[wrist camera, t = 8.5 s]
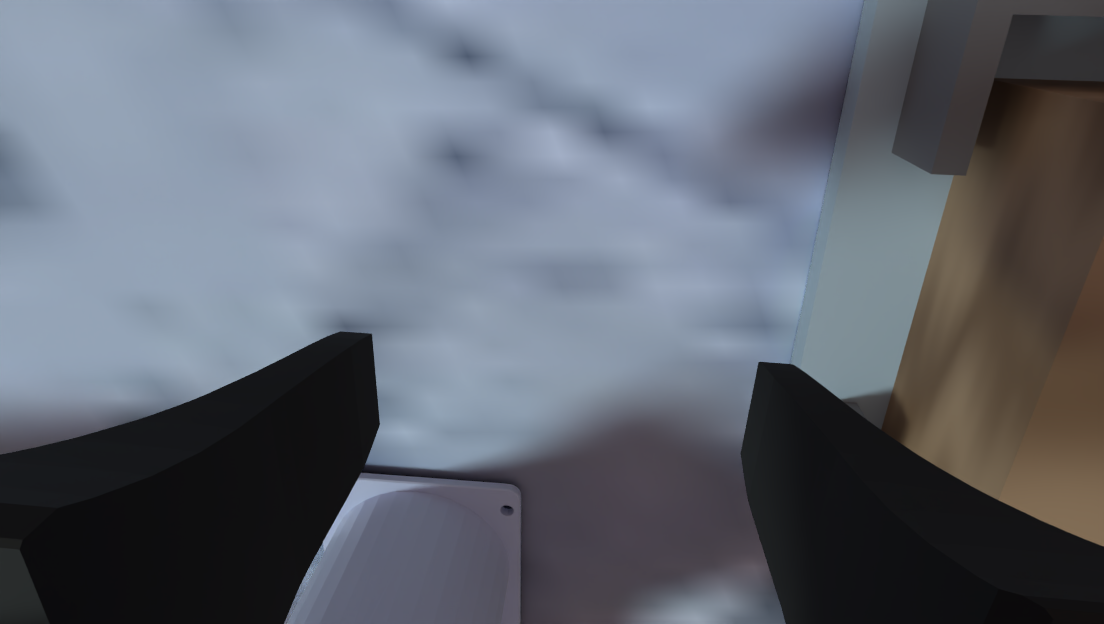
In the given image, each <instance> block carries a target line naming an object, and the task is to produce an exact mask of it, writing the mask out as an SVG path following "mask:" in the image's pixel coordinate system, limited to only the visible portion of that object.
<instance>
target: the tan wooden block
mask: <svg viewBox="0 0 1104 624" xmlns="http://www.w3.org/2000/svg"><path fill="white" fill-rule="evenodd" d="M881 430H882V431H883V432H885V433H886V434H888V435H889V436H891V437H892V438H894V439H895V440H897V441H898V442H900V443H901V444H902V445H904V446H905V447H907V448H908V449H910V450H911V451H913V452H914V453H916V454H917V455H919V456H921V457H922V458H924V459H925V460H927V461H929V462H930V463H932V464H934V465H935V466H937V467H939V468H940V469H942V470H944V471H946V472H947V473H949V474H951V475H953V476H954V477H956V478H958V479H960V480H961V481H963V482H965V483H967V484H968V485H970V486H972V487H974V488H976V489H978V490H980V491H982V492H983V493H985V494H987V495H989V496H991V497H993V498H995V499H997V500H999V501H1001V502H1003V503H1005V504H1007V505H1010V506H1012V507H1014V508H1016V509H1018V510H1020V511H1022V512H1024V513H1026V514H1028V515H1031V516H1033V517H1035V518H1037V519H1039V520H1041V521H1043V522H1046V523H1048V524H1050V525H1053V526H1055V527H1057V528H1059V529H1062V530H1064V531H1066V532H1069V533H1071V534H1073V535H1076V536H1078V537H1081V538H1083V539H1086V540H1088V541H1091V542H1093V543H1096V544H1098V545H1101V546H1104V82H1102V81H1071V80H1041V79H1010V78H994V81H993V85H992V88H991V92H990V95H989V98H988V102H987V105H986V109H985V112H984V115H983V119H982V122H981V126H980V129H979V133H978V136H977V139H976V143H975V146H974V150H973V153H972V156H971V160H970V163H969V167H968V170H967V173H966V176H960V175H954V176H953V180H952V183H951V187H950V190H949V194H948V197H947V201H946V204H945V208H944V211H943V215H942V218H941V222H940V225H939V229H938V232H937V236H936V239H935V243H934V246H933V250H932V253H931V257H930V260H929V264H928V267H927V271H926V274H925V278H924V281H923V285H922V288H921V292H920V295H919V299H918V302H917V306H916V309H915V313H914V316H913V320H912V323H911V327H910V330H909V334H908V337H907V341H906V344H905V348H904V351H903V355H902V358H901V362H900V365H899V369H898V372H897V376H896V380H895V383H894V387H893V390H892V394H891V397H890V401H889V404H888V408H887V411H886V415H885V418H884V422H883V425H882V429H881Z"/></svg>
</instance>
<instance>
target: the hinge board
mask: <svg viewBox="0 0 1104 624" xmlns="http://www.w3.org/2000/svg"><path fill="white" fill-rule="evenodd" d="M994 78H1010V79H1041V80H1071V81H1102V82H1104V0H864V5H863V10H862V15H861V20H860V25H859V29H858V34H857V39H856V44H855V49H854V54H853V59H852V64H851V69H850V74H849V79H848V83H847V88H846V93H845V98H844V103H843V108H842V113H841V118H840V123H839V128H838V132H837V137H836V142H835V147H834V152H833V157H832V162H831V167H830V172H829V177H828V181H827V186H826V191H825V196H824V201H823V206H822V211H821V216H820V221H819V226H818V231H817V235H816V240H815V245H814V250H813V255H812V260H811V265H810V270H809V275H808V280H807V284H806V289H805V294H804V299H803V304H802V309H801V314H800V319H799V324H798V329H797V333H796V338H795V343H794V348H793V353H792V358H791V363H790V364H793V365H795V366H796V367H798V368H800V369H801V370H803V371H804V372H805V373H807V374H808V375H809V376H811V377H812V378H813V379H815V380H816V381H817V382H819V383H820V384H821V385H822V386H824V387H825V388H826V389H828V390H829V391H830V392H831V393H833V394H834V395H835V396H837V397H838V398H839V399H840V400H842V401H843V402H844V403H846V404H847V405H848V406H850V407H851V408H852V409H853V410H855V411H856V412H857V413H859V414H860V415H861V416H863V417H864V418H865V419H867V420H868V421H870V422H871V423H872V424H874V425H875V426H876V427H878V428H879V429H882V425H883V422H884V418H885V415H886V411H887V408H888V404H889V401H890V397H891V394H892V390H893V387H894V383H895V380H896V376H897V372H898V369H899V365H900V362H901V358H902V355H903V351H904V348H905V344H906V341H907V337H908V334H909V330H910V327H911V323H912V320H913V316H914V313H915V309H916V306H917V302H918V299H919V295H920V292H921V288H922V285H923V281H924V278H925V274H926V271H927V267H928V264H929V260H930V257H931V253H932V250H933V246H934V243H935V239H936V236H937V232H938V229H939V225H940V222H941V218H942V215H943V211H944V208H945V204H946V201H947V197H948V194H949V190H950V187H951V183H952V180H953V176H954V175H960V176H966V173H967V170H968V167H969V163H970V160H971V156H972V153H973V150H974V146H975V143H976V139H977V136H978V133H979V129H980V126H981V122H982V119H983V115H984V112H985V109H986V105H987V102H988V98H989V95H990V92H991V88H992V85H993V81H994Z"/></svg>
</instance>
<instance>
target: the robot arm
mask: <svg viewBox="0 0 1104 624" xmlns="http://www.w3.org/2000/svg"><path fill="white" fill-rule="evenodd" d="M379 425H380V422H379V410H378V399H377V387H376V376H375V364H374V353H373V342H372V334H367V333H354V332H338V333H335V334H332V335H330V336H327V337H325V338H323V339H321V340H319V341H317V342H315V343H312V344H310V345H308V346H306V347H304V348H302V349H300V350H299V351H297V352H295V353H293V354H291V355H289V356H287V357H285V358H283V359H281V360H279V361H277V362H275V363H273V364H271V365H269V366H267V367H265V368H263V369H261V370H259V371H257V372H255V373H252V374H250V375H248V376H246V377H244V378H241V379H239V380H237V381H235V382H233V383H231V384H228V385H226V386H224V387H222V388H220V389H217V390H215V391H213V392H211V393H209V394H206V395H204V396H201V397H199V398H197V399H194V400H192V401H189V402H186V403H184V404H181V405H179V406H176V407H173V408H170V409H168V410H165V411H162V412H159V413H156V414H154V415H151V416H148V417H145V418H142V419H139V420H136V421H132V422H129V423H125V424H122V425H119V426H115V427H112V428H108V429H105V430H101V431H98V432H95V433H91V434H88V435H84V436H81V437H77V438H73V439H69V440H65V441H61V442H57V443H53V444H48V445H44V446H40V447H36V448H31V449H26V450H21V451H16V452H12V453H7V454H2V455H0V624H284V622H285V620H286V617H287V615H288V612H289V610H290V608H291V605H292V603H293V601H294V598H295V596H296V593H297V591H298V589H299V586H300V584H301V582H302V580H303V578H304V576H305V574H306V572H307V570H308V568H309V566H310V564H311V563H312V561H313V559H314V557H315V555H316V554H317V552H318V550H319V548H320V546H321V545H322V543H323V548H324V553H323V555H322V557H321V559H320V561H319V563H318V565H317V567H316V569H315V570H314V572H313V574H312V576H311V578H310V580H309V582H308V584H307V586H306V588H305V590H304V591H303V593H302V595H301V597H300V599H299V601H298V603H297V605H296V607H295V609H294V611H293V612H292V614H291V616H290V618H289V620H288V622H287V624H521V492H520V490H519V489H518V488H517V487H516V486H514V485H511V484H505V483H491V482H478V481H464V480H451V479H438V478H424V477H411V476H397V475H384V474H371V473H361V472H362V470H363V468H364V466H365V463H366V461H367V458H368V455H369V453H370V450H371V448H372V445H373V442H374V439H375V437H376V434H377V431H378V428H379ZM741 458H742V465H743V472H744V479H745V485H746V490H747V496H748V501H749V505H750V508H751V512H752V515H753V518H754V521H755V525H756V528H757V531H758V534H759V538H760V541H761V544H762V547H763V550H764V553H765V557H766V560H767V563H768V566H769V569H770V572H771V576H772V579H773V582H774V585H775V588H776V592H777V595H778V598H779V601H780V604H781V607H782V611H783V615H784V619H785V622H786V624H1104V546H1101V545H1098V544H1096V543H1093V542H1091V541H1088V540H1086V539H1083V538H1081V537H1078V536H1076V535H1073V534H1071V533H1069V532H1066V531H1064V530H1062V529H1059V528H1057V527H1055V526H1053V525H1050V524H1048V523H1046V522H1043V521H1041V520H1039V519H1037V518H1035V517H1033V516H1031V515H1028V514H1026V513H1024V512H1022V511H1020V510H1018V509H1016V508H1014V507H1012V506H1010V505H1007V504H1005V503H1003V502H1001V501H999V500H997V499H995V498H993V497H991V496H989V495H987V494H985V493H983V492H982V491H980V490H978V489H976V488H974V487H972V486H970V485H968V484H967V483H965V482H963V481H961V480H960V479H958V478H956V477H954V476H953V475H951V474H949V473H947V472H946V471H944V470H942V469H940V468H939V467H937V466H935V465H934V464H932V463H930V462H929V461H927V460H925V459H924V458H922V457H921V456H919V455H917V454H916V453H914V452H913V451H911V450H910V449H908V448H907V447H905V446H904V445H902V444H901V443H900V442H898V441H897V440H895V439H894V438H892V437H891V436H889V435H888V434H886V433H885V432H883V431H882V430H881V429H879V428H878V427H876V426H875V425H874V424H872V423H871V422H870V421H868V420H867V419H865V418H864V417H863V416H861V415H860V414H859V413H857V412H856V411H855V410H853V409H852V408H851V407H850V406H848V405H847V404H846V403H844V402H843V401H842V400H840V399H839V398H838V397H837V396H835V395H834V394H833V393H831V392H830V391H829V390H828V389H826V388H825V387H824V386H822V385H821V384H820V383H819V382H817V381H816V380H815V379H813V378H812V377H811V376H809V375H808V374H807V373H805V372H804V371H803V370H801V369H800V368H798V367H796V366H795V365H793V364H781V363H768V362H759V363H758V368H757V373H756V379H755V384H754V389H753V394H752V399H751V404H750V409H749V414H748V419H747V425H746V430H745V435H744V440H743V445H742V450H741ZM505 505H508V506H511V507H512V509H507V508H504V507H503V506H505Z"/></svg>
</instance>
